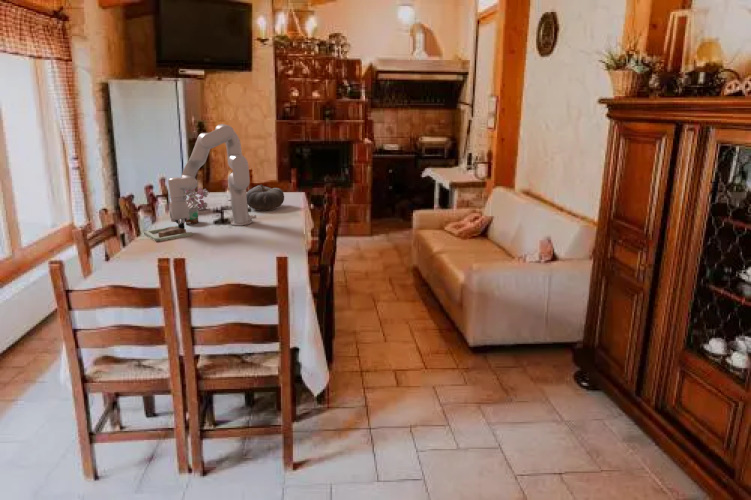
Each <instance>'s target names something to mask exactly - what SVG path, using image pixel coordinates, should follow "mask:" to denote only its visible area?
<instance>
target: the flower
mask: <svg viewBox="0 0 751 500" xmlns="http://www.w3.org/2000/svg"><path fill="white" fill-rule="evenodd" d="M209 194H210V192H209V191H208V190H207V188H203V189H202V188H201V187H197V191H196V188H195V189H193V190H184V196H187V197H188V198H186V199H185V200H186V202H187V205H188V208H191V207H193V205H196V206H198V208H199V210H202V209H203V210H206V209H207V208H208V202H205V201H204V200H203V199H204V198H207V197H208V196H209ZM197 195H199V197H198V196H197ZM198 200H199V201H198Z"/></svg>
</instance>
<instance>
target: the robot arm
mask: <svg viewBox="0 0 751 500" xmlns="http://www.w3.org/2000/svg"><path fill="white" fill-rule="evenodd" d="M222 144H225V147H226V157H227V165H228V167H229V168H230V169H231V170H232V172H231V173H230V174H229V175H228V178H227V183H228V184H227V185H228V188H229V193H230V202H231V203H230V204H231V214H232V220H231V221H230V225H231V226H235V227H236V226H239V227H240V226H248V225H251V224H252V222H253V220H252V219H257V215H256V214H255V215H252V214H249V205H248V204H247V189H248V187H249V185H250V181H251V180H250V179H251V178H250V170H249V169H250V168H249V167H250V166H249V161H248V159H247V158H246V157H245V156H244V155H243V151H242V144H241V140H240V138H239V135H238V134H237V132H236V131H235V130H234V128H233V127H232V126H230V125H228V124H224V123H221V124H220V123H219V124H217V125H216V126H215V129H214V130H212V131H210V132H201V133H200V134H199V135H198V136H197V139H196V141H195V143H194V147H193V149H192V151H191V155H190V157H189V159H188V161H187V163H186V164H185V167H184V169H183V170H182V174H181V177H178V176H174V177H170V178H169V179H168V180H167V181H168V182H167V183H168V188H169V189H168V190H169V196H170V202H169V218H170V222H172V223H176V224H177V225H178V227H179V228H182V229H185V224H186V220H188V219H190V217H189V209H188V207H189V205H187V204H188V202H186V200H187V199H188V195H186V196H184V192H185V190H193V189H195V190H196V188H198V186H199V185H198V180H197V178H196V177H197V174H198V171H199V170H200V168H201V167H202V166H203V165H205V163H206V162H207V159H208V157H209V153H210V151H211V149H213V148H216V147H218V146H220V145H222ZM185 199H186V200H185Z"/></svg>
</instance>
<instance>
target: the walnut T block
mask: <svg viewBox="0 0 751 500" xmlns="http://www.w3.org/2000/svg"><path fill="white" fill-rule="evenodd" d="M167 227H168V228H166V227H165V228H166V230H164V231H160V232H158V238H160V237H166V236H172V235H177V234H183V233H187V230H186V229H182V228H177V227H172V226H167Z"/></svg>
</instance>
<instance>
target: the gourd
mask: <svg viewBox="0 0 751 500" xmlns="http://www.w3.org/2000/svg"><path fill="white" fill-rule="evenodd" d="M246 193H247V204H248V207H249V208H251V209H253V210H256V211H260V212H261V211H263V212H265V211H268V212H269V211H273V210H275V209H277V208H279V207H280V206H281V205H283V204H284V202H285V194H284V191H283V190H282V189H281V188H279V187H273V188H271V187H268V186H264V185H263V184H260V185H256V186H254V187H252V188H250V189H249V190H248V191H246Z"/></svg>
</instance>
